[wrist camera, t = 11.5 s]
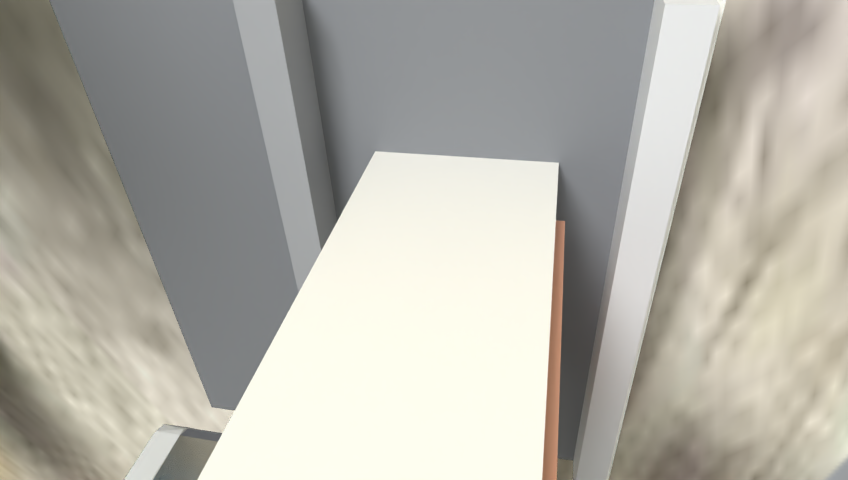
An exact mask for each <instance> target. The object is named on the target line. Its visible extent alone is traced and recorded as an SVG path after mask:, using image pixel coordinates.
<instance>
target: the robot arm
mask: <svg viewBox="0 0 848 480" xmlns="http://www.w3.org/2000/svg"><path fill="white" fill-rule="evenodd" d="M221 435H222V433H217V432H211V431H205V430H198V429H193V428H188V427H181V426H174V425H167V424H164V425H163V426H161V427H160V428H159V429H158V430H157V431H156V432H154V434H153V436H152V437H151V439H150V440H149V442H148V443H147V445H146V446H145V448H144V449H143V451H142V452H141V454H140V455H139V457H138V459H137V460H136V462H135V463H134V465H133V466H132V468H131V469H130V471H129V472H128V474H127V475H126V477H125V479H124V480H198V478H199V476H200V474H201V472H202V470H203V468H204V467H205V465H206V463H207V461H208V459H209V457H210V456H211V454H212V452H213V450H214V448H215V446H216V444H217V443H218V441H219V439H220V437H221Z"/></svg>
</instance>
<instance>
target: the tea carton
mask: <svg viewBox="0 0 848 480" xmlns="http://www.w3.org/2000/svg"><path fill="white" fill-rule="evenodd" d="M558 169H559V163H555V162H539V161H523V160H507V159H491V158H475V157H459V156H443V155H426V154H410V153H394V152H378V151H375V153H374V155H373V156H372V158H371V160H370V162H369V164H368V166H367V168H366V169H365V171H364V173H363V175H362V177H361V179H360V180H359V182H358V184H357V186H356V188H355V190H354V192H353V193H352V195H351V197H350V199H349V201H348V203H347V204H346V206H345V208H344V210H343V212H342V214H341V216H340V217H339V219H338V221H337V223H336V225H335V227H334V228H333V230H332V232H331V234H330V236H329V238H328V240H327V241H326V243H325V245H324V247H323V249H322V251H321V252H320V254H319V256H318V258H317V260H316V262H315V264H314V265H313V267H312V269H311V271H310V273H309V275H308V276H307V278H306V280H305V282H304V284H303V286H302V288H301V289H300V291H299V293H298V295H297V297H296V299H295V300H294V302H293V304H292V306H291V308H290V310H289V312H288V313H287V315H286V317H285V319H284V321H283V323H282V324H281V326H280V328H279V330H278V332H277V334H276V336H275V337H274V339H273V341H272V343H271V345H270V347H269V348H268V350H267V352H266V354H265V356H264V358H263V360H262V361H261V363H260V365H259V367H258V369H257V371H256V372H255V374H254V376H253V378H252V380H251V382H250V384H249V385H248V387H247V389H246V391H245V393H244V395H243V396H242V398H241V400H240V402H239V404H238V406H237V408H236V409H235V411H234V413H233V415H232V417H231V419H230V420H229V422H228V424H227V426H226V428H225V430H224V432H223V433H222V435H221V437H220V439H219V441H218V443H217V444H216V446H215V448H214V450H213V452H212V454H211V456H210V457H209V459H208V461H207V463H206V465H205V467H204V468H203V470H202V472H201V474H200V476H199V478H198V480H557V455H558V424H559V393H560V362H561V331H562V300H563V269H564V238H565V221H559V220H556V207H557V188H558Z"/></svg>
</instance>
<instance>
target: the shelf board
mask: <svg viewBox="0 0 848 480" xmlns="http://www.w3.org/2000/svg"><path fill="white" fill-rule="evenodd" d="M49 1H50V3H51V6H52V8H53V11H54V13H55V16H56V18H57V21H58V23H59V26H60V28H61V31H62V33H63V36H64V38H65V41H66V43H67V46H68V48H69V51H70V53H71V56H72V58H73V61H74V63H75V66H76V68H77V71H78V73H79V76H80V78H81V81H82V83H83V86H84V88H85V91H86V93H87V96H88V98H89V101H90V104H91V106H92V109H93V111H94V114H95V116H96V119H97V121H98V124H99V126H100V129H101V131H102V134H103V136H104V139H105V141H106V144H107V146H108V149H109V151H110V154H111V156H112V159H113V161H114V164H115V166H116V169H117V171H118V174H119V176H120V179H121V181H122V184H123V186H124V189H125V191H126V194H127V196H128V199H129V201H130V204H131V206H132V209H133V211H134V214H135V216H136V219H137V221H138V224H139V226H140V229H141V231H142V234H143V236H144V239H145V241H146V244H147V246H148V249H149V251H150V254H151V256H152V259H153V261H154V264H155V266H156V269H157V271H158V274H159V276H160V279H161V281H162V284H163V286H164V289H165V291H166V294H167V296H168V299H169V301H170V304H171V306H172V309H173V311H174V314H175V316H176V319H177V321H178V324H179V326H180V329H181V331H182V334H183V336H184V339H185V341H186V344H187V346H188V349H189V351H190V354H191V356H192V359H193V361H194V364H195V366H196V369H197V371H198V374H199V376H200V379H201V381H202V384H203V386H204V389H205V391H206V394H207V396H208V399H209V401H210V404H211V406H212V407H215V408H222V409H228V410H235V409H236V408H237V406H238V404H239V402H240V400H241V398H242V396H243V395H244V393H245V391H246V389H247V387H248V385H249V384H250V382H251V380H252V378H253V376H254V374H255V372H256V371H257V369H258V367H259V365H260V363H261V361H262V360H263V358H264V356H265V354H266V352H267V350H268V348H269V347H270V345H271V343H272V341H273V339H274V337H275V336H276V334H277V332H278V330H279V328H280V326H281V324H282V323H283V321H284V319H285V317H286V315H287V313H288V312H289V310H290V308H291V306H292V304H293V302H294V300H295V299H296V297H297V295H298V293H299V291H300V289H301V288H302V286H303V284H304V282H305V280H306V278H307V276H308V275H309V273H310V271H311V269H312V267H313V265H314V264H315V262H316V260H317V258H318V256H319V254H320V252H321V251H322V249H323V247H324V245H325V243H326V241H327V240H328V238H329V236H330V234H331V232H332V230H333V228H334V227H335V225H336V223H337V221H338V219H339V217H340V216H341V214H342V212H343V210H344V208H345V206H346V204H347V203H348V201H349V199H350V197H351V195H352V193H353V192H354V190H355V188H356V186H357V184H358V182H359V180H360V179H361V177H362V175H363V173H364V171H365V169H366V168H367V166H368V164H369V162H370V160H371V158H372V156H373V155H374V153H375V151H378V152H394V153H410V154H426V155H443V156H459V157H475V158H491V159H507V160H523V161H539V162H555V163H559V169H558V188H557V207H556V220H559V221H565V238H564V269H563V300H562V331H561V362H560V393H559V424H558V455H557V458H559V459H566V460H573V480H609V477H610V473H611V468H612V464H613V460H614V456H615V452H616V448H617V444H618V440H619V436H620V432H621V428H622V423H623V419H624V415H625V411H626V407H627V403H628V399H629V395H630V391H631V387H632V383H633V379H634V374H635V370H636V366H637V362H638V358H639V354H640V350H641V346H642V342H643V338H644V334H645V330H646V325H647V321H648V317H649V313H650V309H651V305H652V301H653V297H654V293H655V289H656V285H657V280H658V276H659V272H660V268H661V264H662V260H663V256H664V252H665V248H666V244H667V240H668V236H669V231H670V227H671V223H672V219H673V215H674V211H675V207H676V203H677V199H678V195H679V191H680V186H681V182H682V178H683V174H684V170H685V166H686V162H687V158H688V154H689V150H690V146H691V142H692V137H693V133H694V129H695V125H696V121H697V117H698V113H699V109H700V105H701V101H702V97H703V93H704V88H705V84H706V80H707V76H708V72H709V68H710V64H711V60H712V56H713V52H714V48H715V43H716V39H717V35H718V31H719V27H720V23H721V19H722V15H723V11H724V7H725V3H726V0H49Z"/></svg>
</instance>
